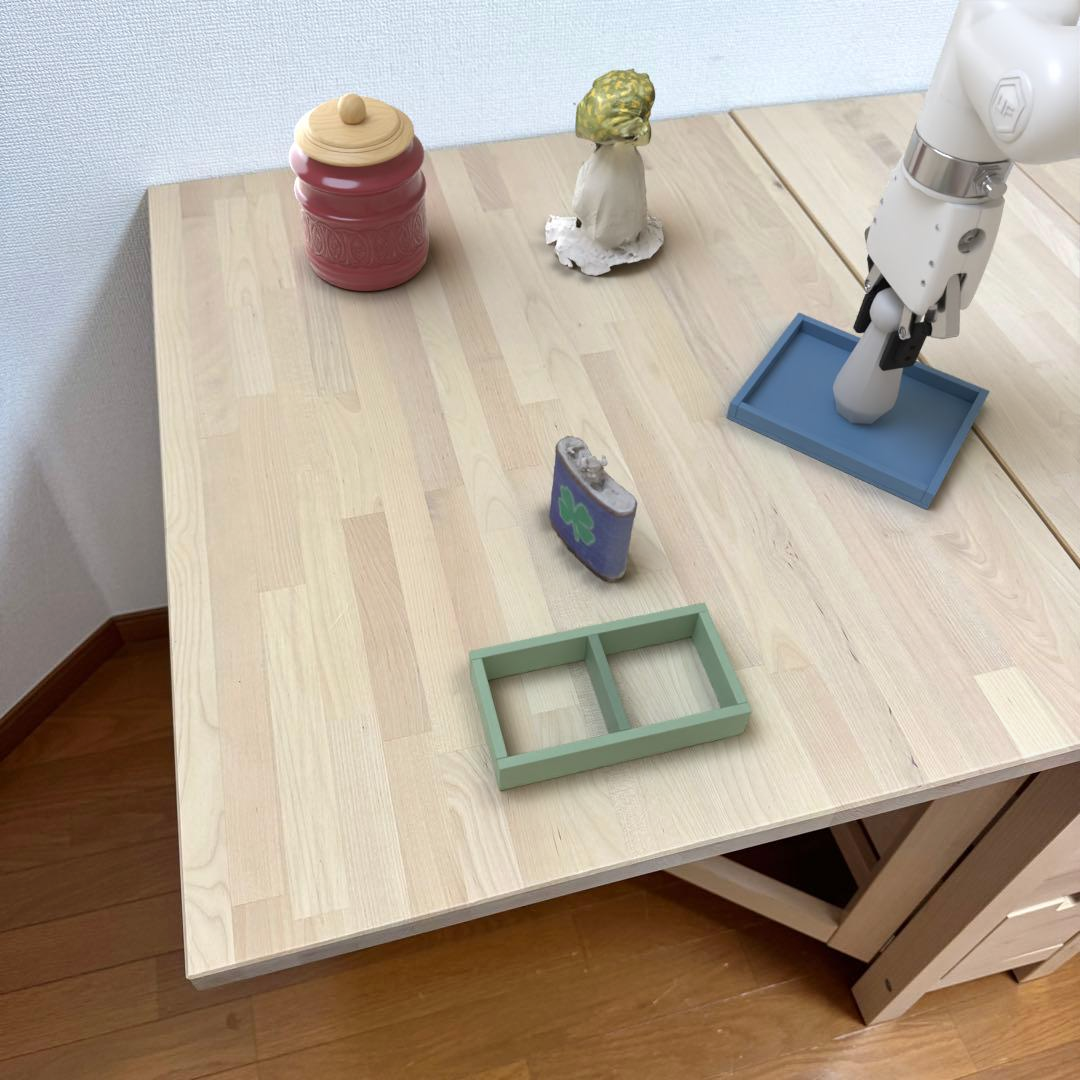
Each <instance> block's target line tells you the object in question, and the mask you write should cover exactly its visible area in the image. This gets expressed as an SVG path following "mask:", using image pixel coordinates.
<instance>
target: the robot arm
mask: <svg viewBox="0 0 1080 1080" xmlns="http://www.w3.org/2000/svg"><path fill="white" fill-rule="evenodd" d="M1079 19H1080V0H958V3H957V6H956V9H955V12H954V14H953V17H952V20H951V22H950V26H949V28H948V31H947V34H946V37H945V39H944V43H943V46H942V48H941V51H940V53H939V58H938V60H937V63H936V65H935V68H934V71H933V73H932V77H931V79H930V82H929V84H928V88H927V90H926V94H925V96H924V100H923V101H922V106H921V107H920V110H919V113H918V116H917V118H916V122H915V125H914V127H913V130H912V133H911V136H910V138H909V142H908V144H907V146H906V149H905V151H904V152H903V154H902V155H901V157H900V159H899V161H897V164H896V165H895V168H894V169H893V172H892V174H891V176H890V178H889V179H888V182H887V183H886V186H885V188H884V191H883V192H882V195H881V197H880V199H879V202H878V204H877V207H876V209H875V213H874V215H873V218H872V220H871V224H870V225H869V226H868V227H867V228H865V230H864V234H863V235H864V240H865V244H866V245H865V246H866V250H867V257H866V261H867V262H866V263H867V270H868V274H867V276H866V278H865V280H864V283H863V287H864V290H865V291H866V293H865V294H864V297H863V299H862V301H861V305H860V307H859V310H858V313H857V316H856V318H855V321H854V323H853V326H852V328H853V330H854V332H855V333H856V334H864V332H865V331H866V329H867V328H868V326H869V325H870V323H871V321H872V320H871V316H870V309H871V305H872V303H873V301H874V298H875V297H876V295H877V294H878V293H879V292H881V291H882V290H884V289H887V288H891V287H892V288H893V289H894V291H895V292H896V293H897V295H898V296H899V297H900V299H901V300H902V301H903V302H904V308H903V313H902V317H901V321H900V325H899V329H898V330H896V331H893V332H892V333H891V335H890V337H889V340H888V342H887V345H886V347H885V350H884V352H883V355H882V357H881V360H880V362H879V367H880V368H881V370H882V371H887V370H893V369H899V368H905V367H910V366H912V365H914V364H915V362H916V361H917V360H918V358H919V355H920V353H921V350H922V349H923V346H924V343H925V342H926V340H927V337H929V338H932V339H939V340H945V339H951V338H957V337H959V335H960V329H961V325H960V324H961V321H960V320H961V311H962V310H967V309H968V308H969V307H970V305H971V303H972V301H973V300H974V297H975V295H976V293H977V291H978V288H979V286H980V283H981V281H982V280H983V276H984V274H985V271H986V268H987V266H988V264H989V261H990V258H991V255H992V253H993V249H994V247H995V244H996V241H997V237H998V234H999V230H1000V225H1001V221H1002V218H1003V213H1004V208H1005V201H1006V199H1005V197H1004V195H1005V193H1006V192H1007V191H1008V185H1007V181H1008V179H1009V176H1010V174H1011V172H1012V170H1013V167H1014V165H1015V163H1018V164H1021V165H1022V164H1023V165H1027V166H1040V165H1049V164H1053V163H1054V164H1055V163H1059V162H1065V161H1069V160H1071V161H1072V160H1076V159H1080V25H1078V22H1079ZM917 315H919V316H923V320H922V321H921V322H919V323H915V320H916V316H917Z"/></svg>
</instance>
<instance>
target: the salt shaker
mask: <svg viewBox="0 0 1080 1080" xmlns="http://www.w3.org/2000/svg"><path fill="white" fill-rule="evenodd" d="M903 308H904V302H903V301H902V300H901V299H900V297H899V296H898V295H897V293H896V292H895V291H894V289H893V288H892V287H891V288H887V289H884V290H882V291H881V292H879V293H878V294H877V295H876V297H875V298H874V301H873V303H872V305H871V309H870V316H871V320H872V321H871V323H870V325H869V326H868V328H867V329H866V331H865V332H864V333H862V335H861V336H860V338H861V339H860V340H859V342H858V344H857V345H856V347H855V348H854V350H853V352H852V353H851V355H850V356H849V358H848V359H847V361H846V363H845V364H844V366H843V367H842V369H841V371H840V372H839V374H838V375H837V377H836V380H835V382H834V384H833V392H834V397H835V403H836V409H837V412H838V413H839V414H840V415H841V416H843V417H844V418H845V419H847V420H848V421H849V422H851V423H858V424H872V423H873V422H874V421H875V420H877V419H878V418H879V417H880V416H882V415H883V414H885V413H886V412H887V411H889V410H890V409H892V407H893V406H894V404H895V402H896V399H897V397H898V392H899V387H900V381H901V376H902V371H903V368H899V369H893V370H887V371H882V370H881V368H880V367H879V362H880V360H881V357H882V355H883V352H884V350H885V347H886V345H887V342H888V340H889V337H890V335H891V333H892V332H893V331H896V330H898V329H899V325H900V321H901V317H902V313H903ZM923 318H924V316H919V315H917V316H916V320H915V323H919V322H922V320H923Z"/></svg>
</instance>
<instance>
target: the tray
mask: <svg viewBox="0 0 1080 1080" xmlns="http://www.w3.org/2000/svg"><path fill="white" fill-rule="evenodd" d="M860 339H861V336H860V337H859V336H857V335H854V334H852V333H849V332H847V331H845V330H843V329H840V328H837V327H835V326H833V325H831V324H829V323H826V322H823V321H822V320H821V321H820V320H819V319H816V318H813V317H811V316H809V315H806V314H804V313H802V312H798V313H797V314H796V315H795V316H794V318H793V319H792V320H791V322H790V323H789V324H788V326H787V327H786V328H785V329H784V331H783V332H782V333H781V335H780V336H779V337H778V339H777V340H776V341H775V343H774V344H773V346H772V347H771V348H770V349H769V350H768V352H767V354H766V355H765V356H764V358H763V359H762V360H761V361H760V362H759V364H758V365H757V366H756V368H755V369H754V370H753V372H752V373H751V374H750V376H749V377H748V378H747V380H746V381H745V382H744V384H742V386H741V388H740V389H739V390H738V392H737V393H736V394H735V396H734V397H733V398H732V400H731V401H730V402H729V406H728V408H727V413H726V419H728V420H730V421H732V422H734V423H737V424H739V425H740V426H743V427H745V428H747V429H750V430H752V431H753V432H757V433H759V434H761V435H762V436H765V437H767V438H770V439H771V440H773V441H776V442H778V443H780V444H783V445H785V446H787V447H789V448H791V449H794V450H795V451H798V452H800V453H802V454H804V455H807V456H809V457H811V458H813V459H815V460H817V461H820V462H822V463H824V464H826V465H828V466H830V467H833V468H835V469H837V470H839V471H841V472H843V473H846V474H848V475H850V476H852V477H855V478H857V479H859V480H861V481H863V482H865V483H868V484H870V485H872V486H875V487H876V488H879V489H881V490H883V491H885V492H887V493H889V494H891V495H894V496H896V497H898V498H900V499H902V500H905V501H907V502H909V503H911V504H913V505H916V506H918V507H920V508H921V509H924V510H926V511H927V510H928V509H929V508H930V505H932V504H931V503H932V502H933V500H934V498H935V497H936V494H937V493H938V491H939V489H940V487H941V485H942V483H943V482H944V479H945V477H946V476H947V474H948V472H949V470H950V469H951V466H952V464H953V462H954V460H955V459H956V458H957V455H958V453H959V451H960V449H961V448H962V445H963V443H964V441H965V440H966V438H967V436H968V434H969V432H970V430H971V428H972V427H973V424H974V422H975V420H976V419H977V417H978V415H979V413H980V411H981V410H982V408H983V405H984V403H985V402H986V400H987V398H988V396H989V394H990V392H991V391H990V390H989V389H986V388H984V387H980V386H978V385H976V384H973V383H971V382H968V381H966V380H964V379H961V378H959V377H956V376H954V375H951V374H949V373H947V372H945V371H943V370H939V369H937V368H934V367H933V366H929V365H927V364H925V363H922V362H920V361H917V360H916V362H915V364H914V365H912V366H910V367H905V368H903V371H902V376H901V381H900V387H899V392H898V397H897V399H896V402H895V404H894V406H893V407H892V409H890V410H889V411H887V412H886V413H885V414H883V415H882V416H880V417H879V418H878V419H877V420H875V421H874V422H873V423H872V424H858V423H851V422H849V421H848V420H847V419H845V418H844V417H843V416H841V415H840V414H839V413H838V412H837V409H836V403H835V397H834V392H833V384H834V382H835V380H836V377H837V375H838V374H839V372H840V371H841V369H842V367H843V366H844V364H845V363H846V361H847V359H848V358H849V356H850V355H851V353H852V352H853V350H854V348H855V347H856V345H857V344H858V342H859V340H860Z"/></svg>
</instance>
